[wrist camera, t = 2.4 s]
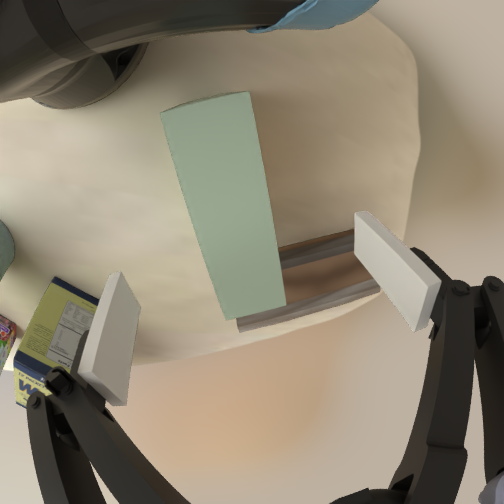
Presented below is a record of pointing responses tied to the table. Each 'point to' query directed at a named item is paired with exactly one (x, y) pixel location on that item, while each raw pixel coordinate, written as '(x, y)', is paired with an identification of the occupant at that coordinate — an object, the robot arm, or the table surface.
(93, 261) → the table surface
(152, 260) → the table surface
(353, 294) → the facing shelf
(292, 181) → the table surface
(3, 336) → the snack box
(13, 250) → the green cup
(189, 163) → the cracker box
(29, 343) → the protein box
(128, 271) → the table surface
